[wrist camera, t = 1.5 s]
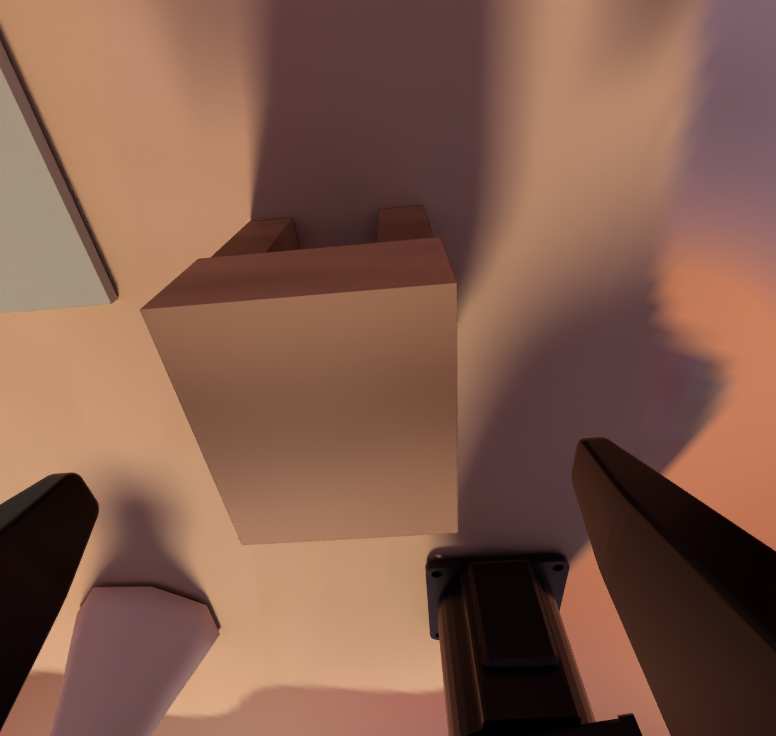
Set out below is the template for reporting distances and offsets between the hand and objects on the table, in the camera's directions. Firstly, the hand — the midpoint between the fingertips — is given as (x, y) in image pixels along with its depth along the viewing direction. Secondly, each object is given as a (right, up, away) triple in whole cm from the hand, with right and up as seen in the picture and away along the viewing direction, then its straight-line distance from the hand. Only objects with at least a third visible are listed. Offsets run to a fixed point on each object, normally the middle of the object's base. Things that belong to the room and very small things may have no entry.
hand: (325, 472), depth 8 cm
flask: (-12, -11, +16) cm, 22 cm away
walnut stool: (0, +4, +6) cm, 7 cm away
